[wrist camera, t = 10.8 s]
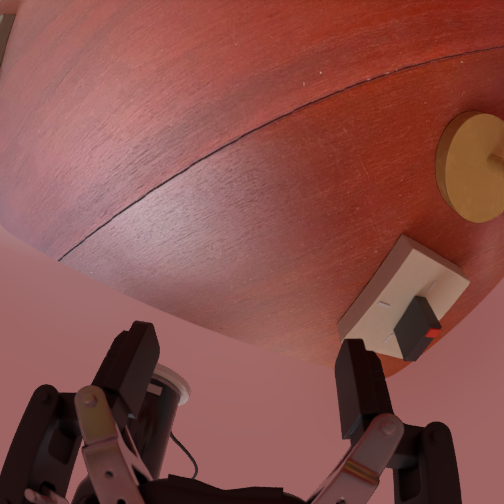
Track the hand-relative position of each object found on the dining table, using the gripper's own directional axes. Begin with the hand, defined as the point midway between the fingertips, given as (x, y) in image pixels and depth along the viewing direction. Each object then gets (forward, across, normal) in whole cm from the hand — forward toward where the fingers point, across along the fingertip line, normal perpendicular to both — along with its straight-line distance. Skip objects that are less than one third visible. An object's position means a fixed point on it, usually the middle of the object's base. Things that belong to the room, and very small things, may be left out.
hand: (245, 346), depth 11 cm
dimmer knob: (+13, -16, +10) cm, 23 cm away
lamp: (+16, -22, -10) cm, 29 cm away
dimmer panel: (+16, -16, +10) cm, 25 cm away
